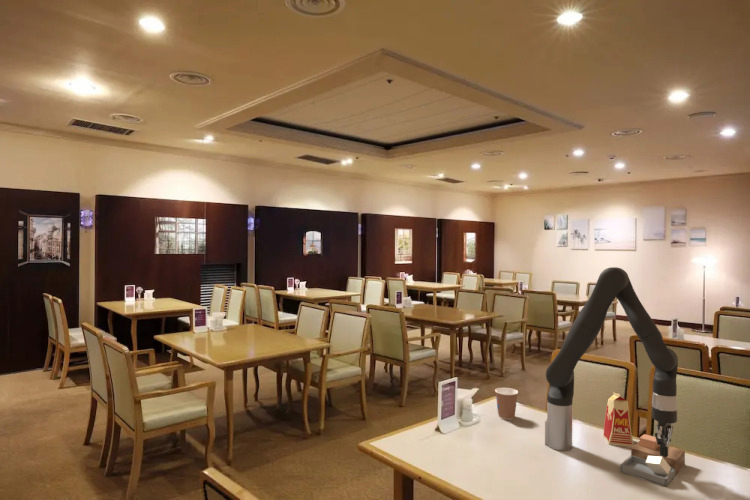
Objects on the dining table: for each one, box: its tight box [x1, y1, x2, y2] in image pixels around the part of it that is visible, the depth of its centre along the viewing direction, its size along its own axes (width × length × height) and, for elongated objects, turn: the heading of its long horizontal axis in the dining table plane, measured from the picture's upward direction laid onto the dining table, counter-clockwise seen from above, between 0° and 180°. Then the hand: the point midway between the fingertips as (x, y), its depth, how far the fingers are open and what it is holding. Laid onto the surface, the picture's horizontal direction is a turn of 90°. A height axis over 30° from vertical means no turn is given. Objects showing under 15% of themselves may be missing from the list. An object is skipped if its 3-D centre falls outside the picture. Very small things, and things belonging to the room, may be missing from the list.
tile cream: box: [645, 456, 671, 475], centre depth 158 cm, size 5×5×3 cm
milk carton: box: [603, 391, 635, 448], centre depth 188 cm, size 9×9×20 cm
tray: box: [619, 454, 677, 487], centre depth 161 cm, size 14×11×2 cm
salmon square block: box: [639, 433, 659, 450], centre depth 172 cm, size 5×5×3 cm
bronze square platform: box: [630, 440, 686, 475], centre depth 169 cm, size 14×12×5 cm
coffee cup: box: [494, 387, 519, 420], centre depth 214 cm, size 10×10×12 cm
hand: (664, 455), depth 162 cm, fingers closed
